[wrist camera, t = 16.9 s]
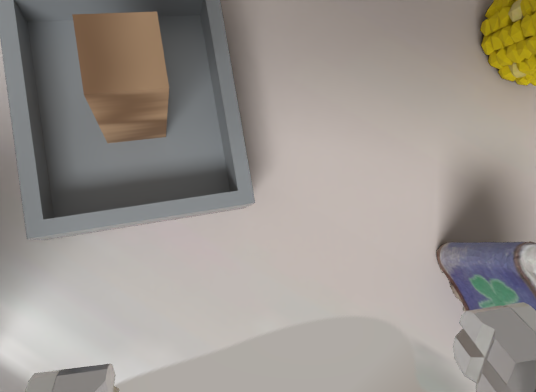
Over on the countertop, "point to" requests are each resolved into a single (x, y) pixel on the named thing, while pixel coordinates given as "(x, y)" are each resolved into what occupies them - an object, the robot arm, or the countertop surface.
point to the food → (511, 39)
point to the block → (124, 73)
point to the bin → (129, 152)
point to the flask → (490, 273)
